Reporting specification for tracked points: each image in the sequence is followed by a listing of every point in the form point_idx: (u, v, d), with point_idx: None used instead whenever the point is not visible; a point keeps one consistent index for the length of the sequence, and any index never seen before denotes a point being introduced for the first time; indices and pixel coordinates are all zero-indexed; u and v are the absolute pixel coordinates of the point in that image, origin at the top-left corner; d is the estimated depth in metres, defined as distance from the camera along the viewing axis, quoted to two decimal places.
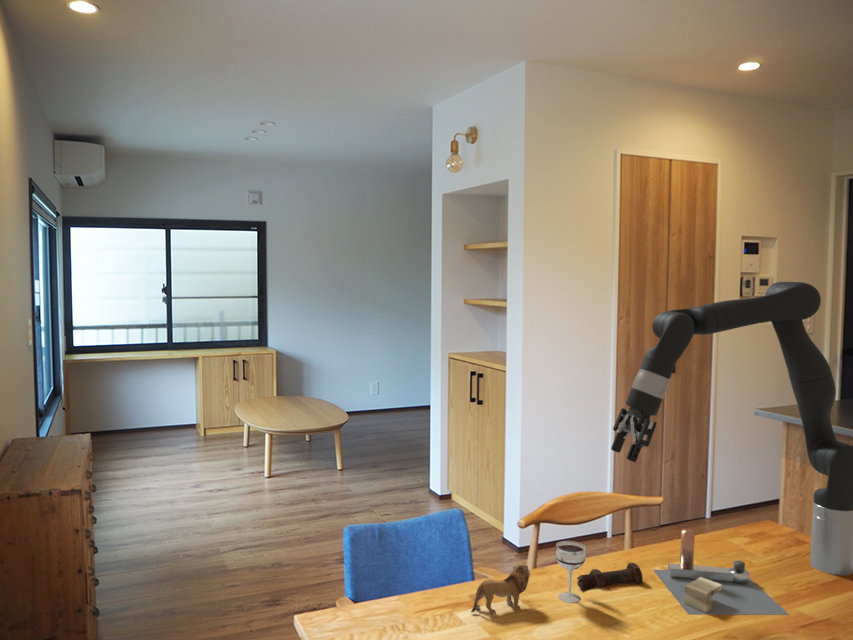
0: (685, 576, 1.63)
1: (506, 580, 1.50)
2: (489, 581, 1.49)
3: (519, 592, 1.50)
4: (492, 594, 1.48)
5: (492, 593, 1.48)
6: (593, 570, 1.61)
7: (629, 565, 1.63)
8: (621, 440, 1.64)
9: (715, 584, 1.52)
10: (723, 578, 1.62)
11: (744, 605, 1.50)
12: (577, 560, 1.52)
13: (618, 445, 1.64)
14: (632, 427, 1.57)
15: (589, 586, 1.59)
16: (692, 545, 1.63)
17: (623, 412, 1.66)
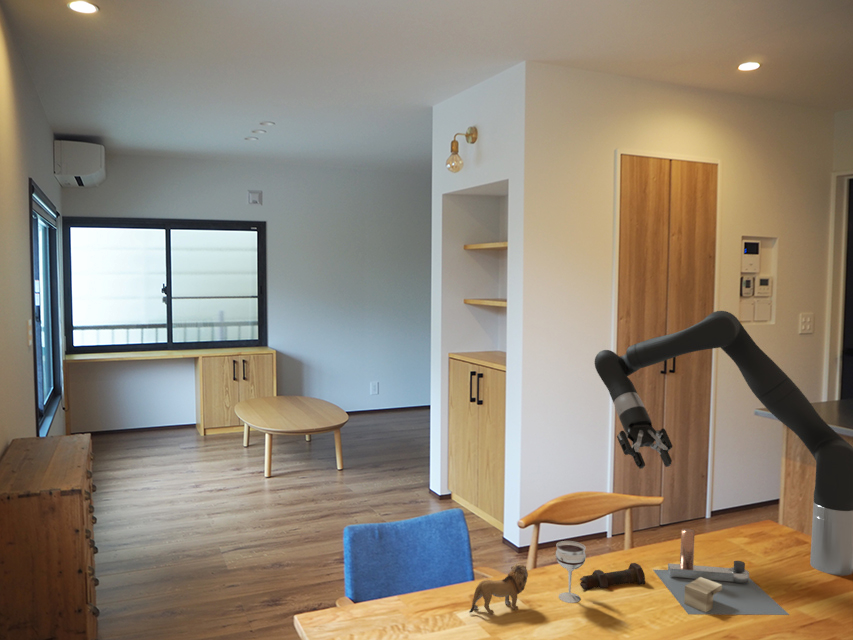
0: (685, 576, 1.63)
1: (504, 580, 1.50)
2: (487, 581, 1.49)
3: (517, 592, 1.50)
4: (490, 594, 1.48)
5: (490, 593, 1.48)
6: (596, 571, 1.60)
7: (631, 565, 1.63)
8: (663, 454, 1.79)
9: (715, 584, 1.52)
10: (723, 578, 1.62)
11: (744, 605, 1.50)
12: (577, 560, 1.52)
13: (665, 459, 1.78)
14: None
15: (592, 587, 1.58)
16: (692, 545, 1.63)
17: None
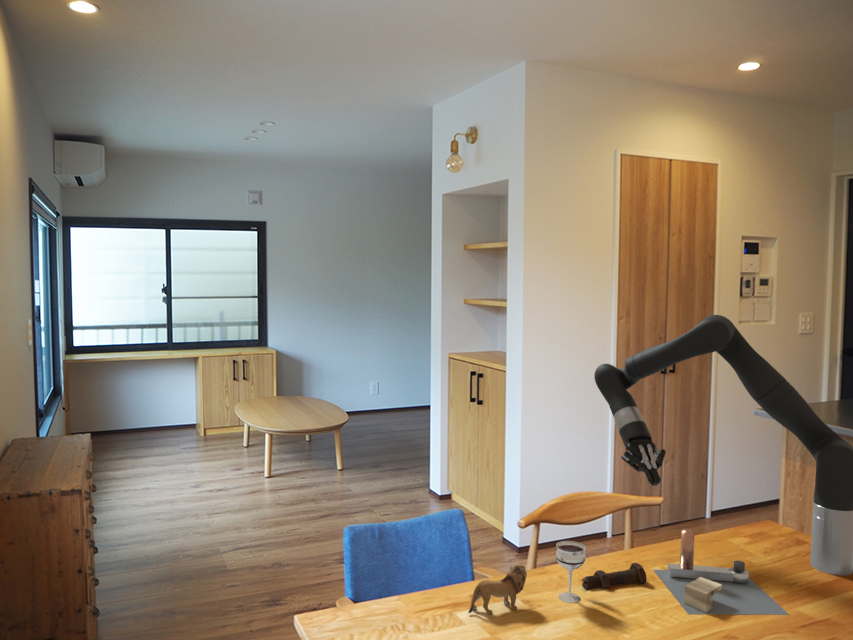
0: (685, 576, 1.63)
1: (503, 580, 1.50)
2: (486, 581, 1.49)
3: (516, 592, 1.50)
4: (489, 594, 1.48)
5: (489, 593, 1.48)
6: (597, 571, 1.60)
7: (632, 565, 1.63)
8: None
9: (715, 584, 1.52)
10: (723, 578, 1.62)
11: (744, 605, 1.50)
12: (577, 560, 1.52)
13: None
14: None
15: (594, 587, 1.58)
16: (692, 545, 1.63)
17: None
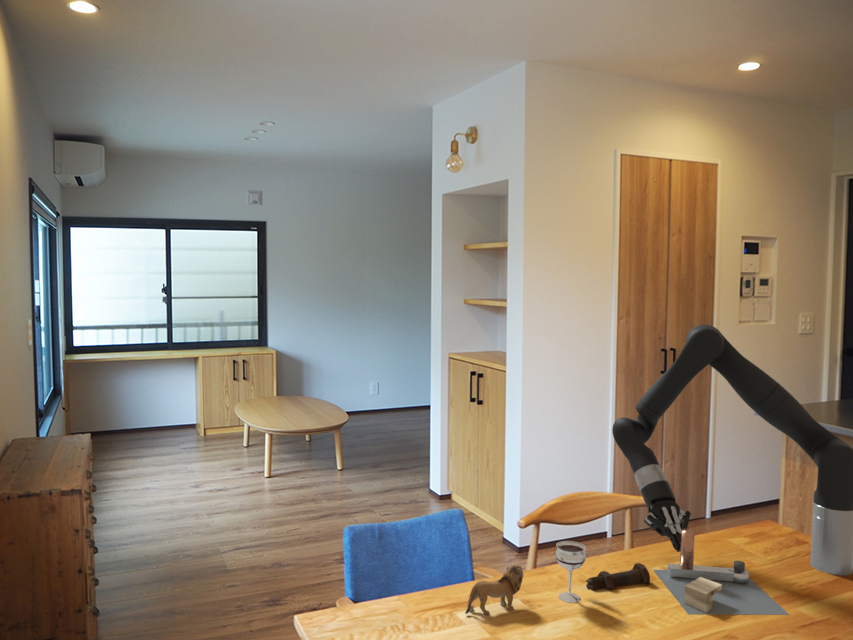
0: (685, 576, 1.63)
1: (500, 581, 1.49)
2: (483, 582, 1.48)
3: (513, 593, 1.49)
4: (486, 595, 1.48)
5: (486, 594, 1.48)
6: (602, 572, 1.60)
7: (636, 566, 1.63)
8: None
9: (715, 584, 1.52)
10: (723, 578, 1.62)
11: (744, 605, 1.50)
12: (577, 560, 1.52)
13: None
14: None
15: (599, 588, 1.57)
16: (692, 545, 1.63)
17: None
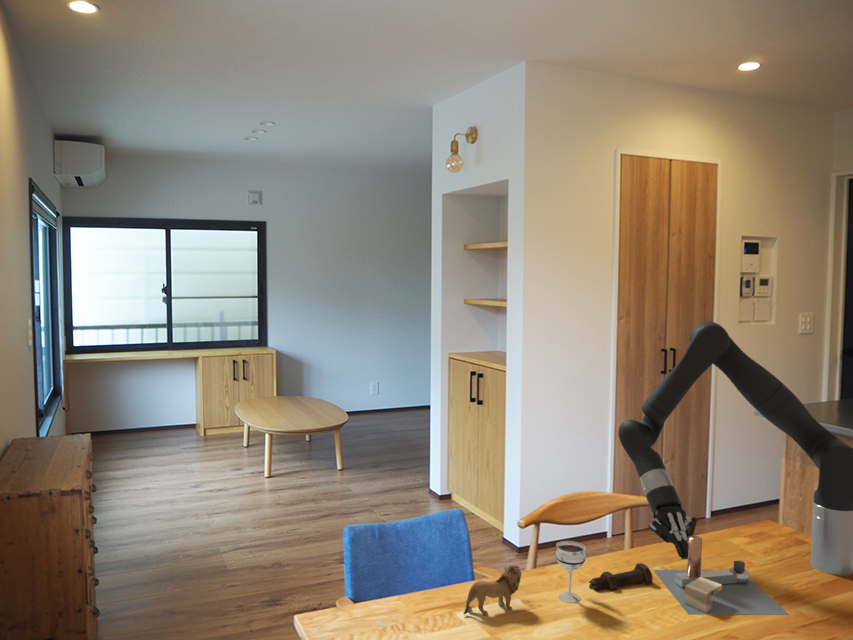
0: None
1: (498, 581, 1.49)
2: (481, 582, 1.48)
3: (511, 593, 1.49)
4: (484, 595, 1.47)
5: (484, 594, 1.47)
6: (604, 573, 1.59)
7: (638, 566, 1.63)
8: None
9: (715, 584, 1.52)
10: (728, 580, 1.60)
11: (744, 605, 1.50)
12: (577, 560, 1.52)
13: None
14: None
15: (602, 589, 1.57)
16: (701, 551, 1.59)
17: None
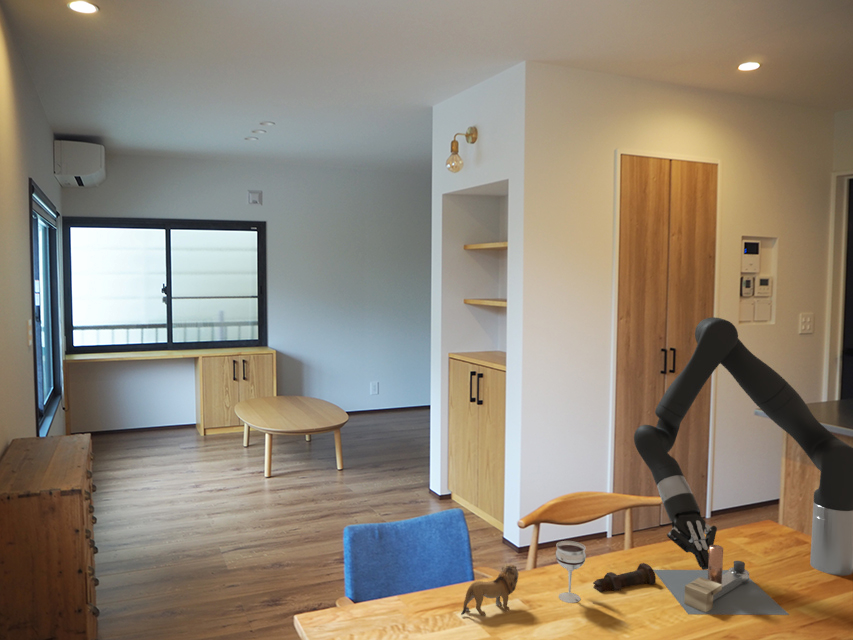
0: (719, 595, 1.54)
1: (495, 581, 1.49)
2: (479, 582, 1.48)
3: (508, 593, 1.49)
4: (482, 596, 1.47)
5: (482, 595, 1.47)
6: (608, 573, 1.59)
7: (641, 566, 1.63)
8: None
9: (715, 584, 1.52)
10: (737, 583, 1.59)
11: (744, 605, 1.50)
12: (577, 560, 1.52)
13: None
14: None
15: (606, 590, 1.57)
16: None
17: None
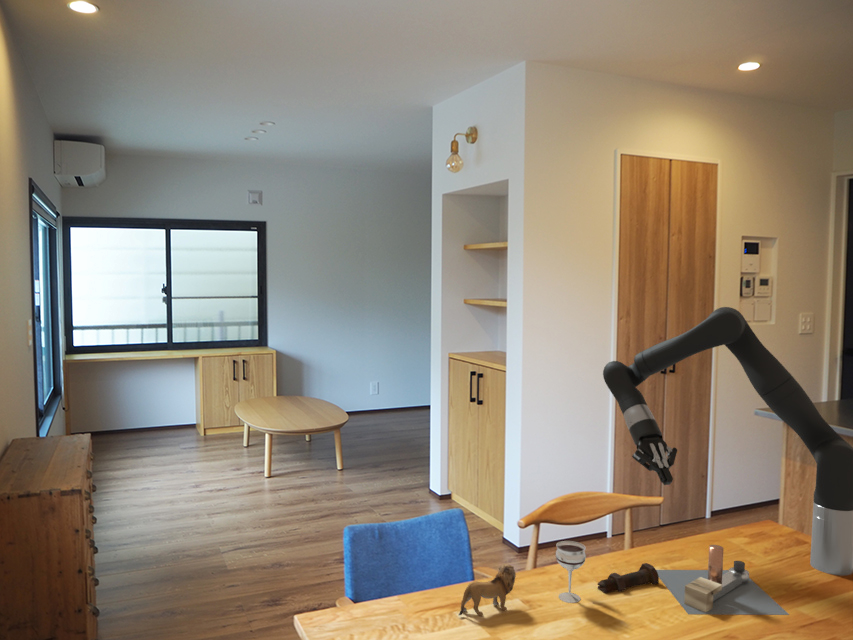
0: (719, 595, 1.54)
1: (493, 581, 1.49)
2: (476, 583, 1.48)
3: (506, 593, 1.49)
4: (479, 596, 1.47)
5: (479, 595, 1.47)
6: (612, 574, 1.59)
7: (643, 566, 1.63)
8: None
9: (715, 584, 1.52)
10: (737, 583, 1.59)
11: (744, 605, 1.50)
12: (577, 560, 1.52)
13: None
14: None
15: (611, 591, 1.56)
16: None
17: None
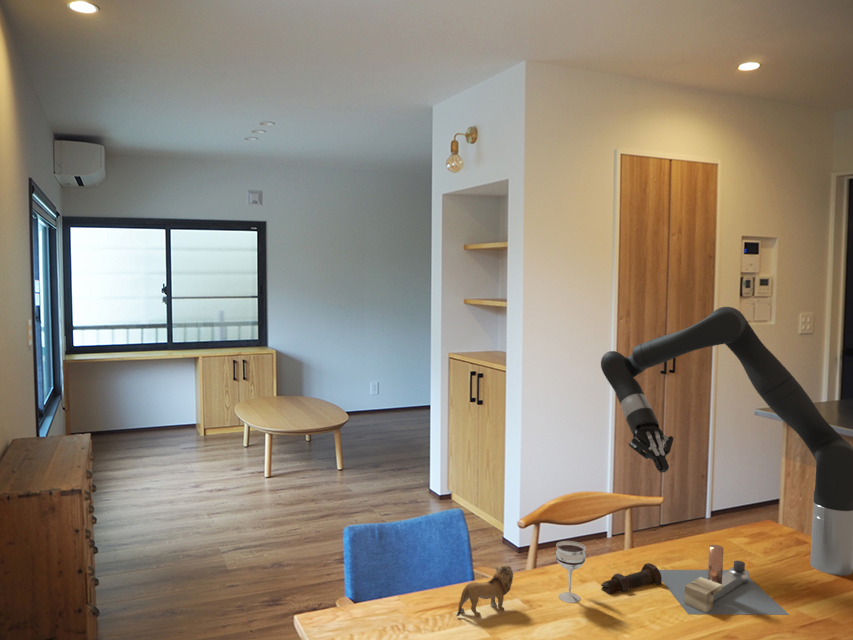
0: (719, 595, 1.54)
1: (490, 582, 1.49)
2: (474, 583, 1.48)
3: (503, 593, 1.49)
4: (477, 597, 1.47)
5: (477, 596, 1.47)
6: (616, 575, 1.58)
7: (646, 566, 1.63)
8: None
9: (715, 584, 1.52)
10: (737, 583, 1.59)
11: (744, 605, 1.50)
12: (577, 560, 1.52)
13: None
14: None
15: (615, 592, 1.56)
16: None
17: None
